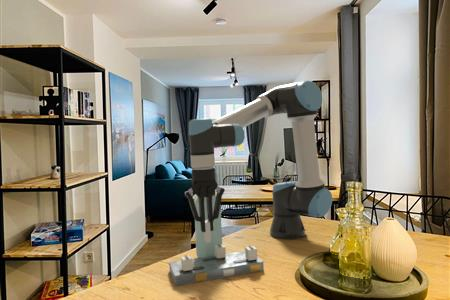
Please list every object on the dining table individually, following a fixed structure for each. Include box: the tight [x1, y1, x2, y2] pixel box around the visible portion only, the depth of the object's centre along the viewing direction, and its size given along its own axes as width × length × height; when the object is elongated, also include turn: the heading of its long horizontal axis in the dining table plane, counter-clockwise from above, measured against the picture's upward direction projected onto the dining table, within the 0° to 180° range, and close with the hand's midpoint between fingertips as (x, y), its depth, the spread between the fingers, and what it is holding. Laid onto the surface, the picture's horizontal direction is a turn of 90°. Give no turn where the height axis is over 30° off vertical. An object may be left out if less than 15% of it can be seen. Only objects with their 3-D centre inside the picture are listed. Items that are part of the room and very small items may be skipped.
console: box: [168, 250, 265, 287], centre depth 112 cm, size 29×12×3 cm, turn 107°
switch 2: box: [215, 243, 227, 258], centre depth 115 cm, size 3×3×4 cm
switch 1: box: [180, 254, 193, 271], centre depth 106 cm, size 3×3×4 cm
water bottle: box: [193, 191, 223, 258], centre depth 124 cm, size 10×10×25 cm
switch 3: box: [244, 245, 258, 261], centre depth 112 cm, size 3×3×4 cm
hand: (207, 241), depth 108 cm, fingers closed
